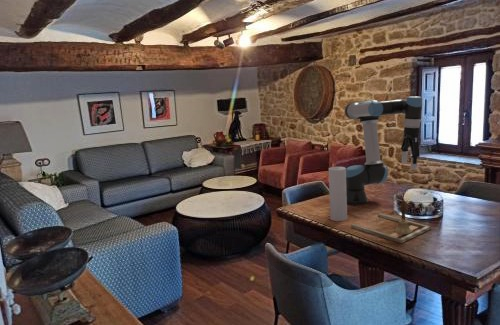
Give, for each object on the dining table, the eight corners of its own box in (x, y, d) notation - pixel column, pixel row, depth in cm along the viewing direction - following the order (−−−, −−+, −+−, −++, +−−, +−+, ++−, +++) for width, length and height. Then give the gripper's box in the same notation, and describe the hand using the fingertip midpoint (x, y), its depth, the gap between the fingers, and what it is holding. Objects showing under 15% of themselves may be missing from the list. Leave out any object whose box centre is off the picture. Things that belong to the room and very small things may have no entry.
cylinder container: (347, 220, 206) (346, 169, 200) (330, 221, 208) (328, 169, 202) (346, 215, 215) (345, 165, 209) (330, 215, 217) (328, 166, 211)
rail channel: (379, 215, 210) (379, 213, 210) (430, 229, 185) (430, 226, 185) (351, 226, 197) (351, 224, 196) (401, 243, 172) (401, 240, 172)
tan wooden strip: (411, 225, 192) (411, 224, 192) (419, 227, 188) (419, 226, 188) (387, 236, 180) (387, 236, 180) (394, 239, 177) (394, 238, 177)
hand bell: (391, 230, 187) (390, 200, 184) (403, 227, 190) (403, 197, 187) (403, 235, 179) (403, 204, 176) (416, 232, 182) (416, 201, 179)
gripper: (429, 130, 178) (425, 172, 183) (410, 123, 202) (407, 160, 207) (413, 130, 178) (409, 172, 183) (396, 123, 203) (393, 160, 208)
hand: (408, 166), depth 195 cm, fingers open, 13 cm apart
